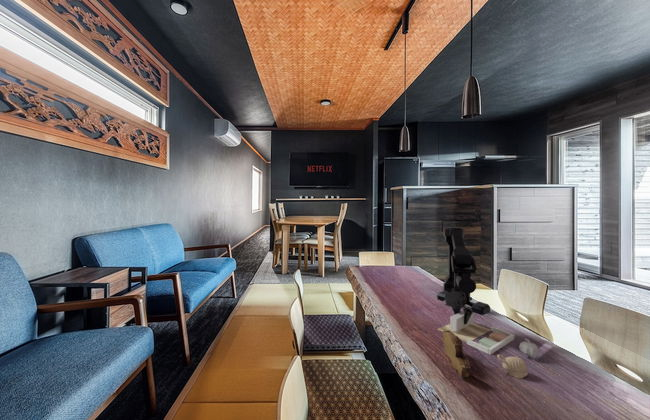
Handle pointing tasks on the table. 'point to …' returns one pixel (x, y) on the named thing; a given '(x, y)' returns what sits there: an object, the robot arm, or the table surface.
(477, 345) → the tray
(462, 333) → the board
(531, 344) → the garlic
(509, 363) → the decorative ornament
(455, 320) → the long grey plank
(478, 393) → the table surface
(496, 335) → the tile
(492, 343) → the tile
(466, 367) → the wooden carving
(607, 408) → the table surface
